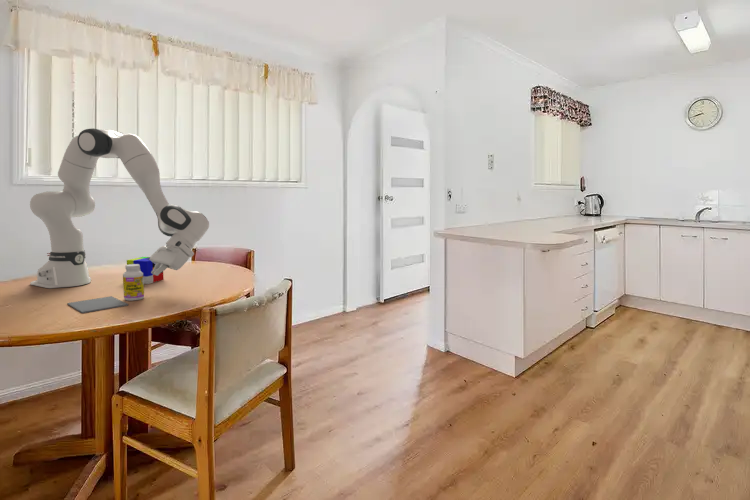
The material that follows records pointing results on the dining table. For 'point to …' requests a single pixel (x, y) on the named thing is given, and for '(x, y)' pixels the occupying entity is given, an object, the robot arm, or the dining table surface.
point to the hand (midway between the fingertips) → (154, 274)
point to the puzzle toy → (146, 269)
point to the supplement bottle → (133, 283)
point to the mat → (97, 304)
